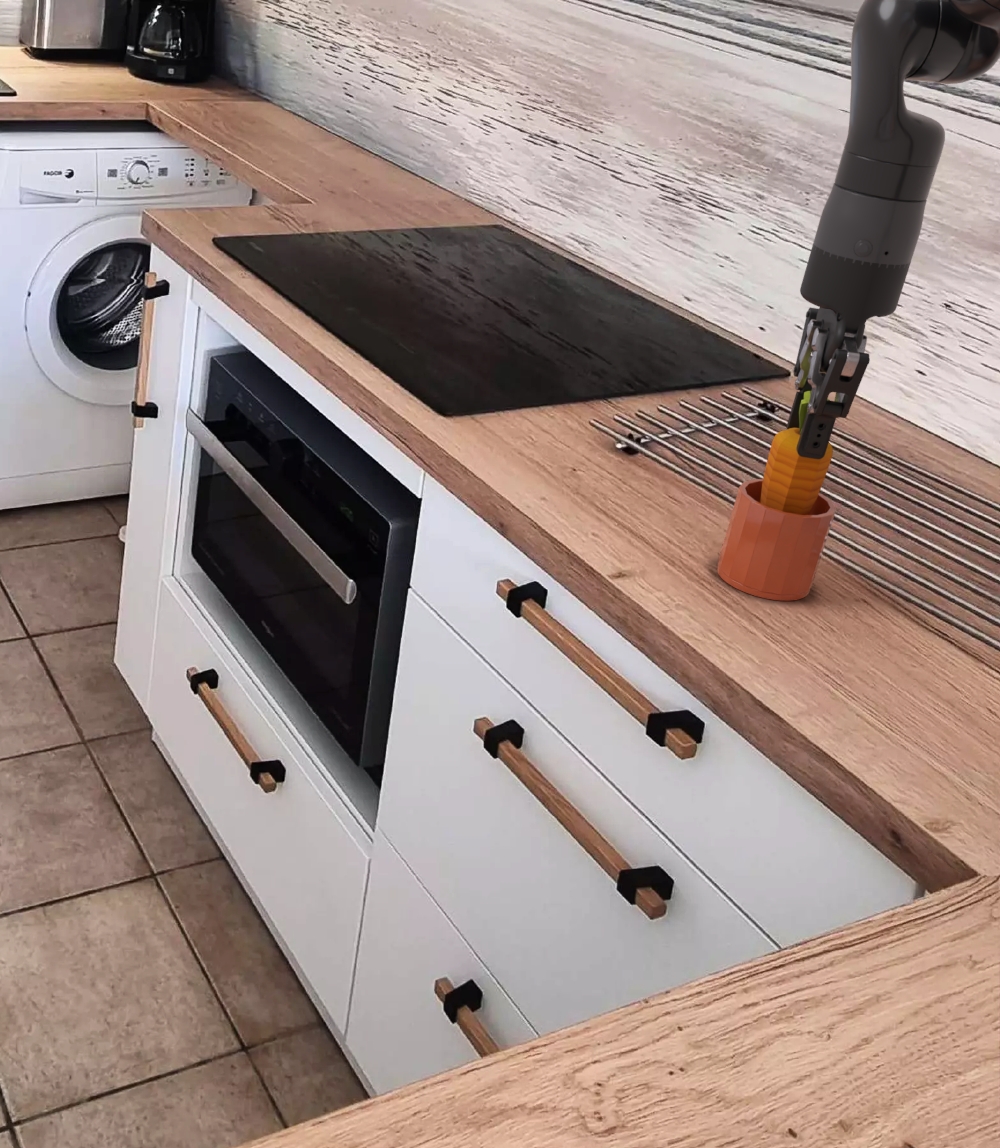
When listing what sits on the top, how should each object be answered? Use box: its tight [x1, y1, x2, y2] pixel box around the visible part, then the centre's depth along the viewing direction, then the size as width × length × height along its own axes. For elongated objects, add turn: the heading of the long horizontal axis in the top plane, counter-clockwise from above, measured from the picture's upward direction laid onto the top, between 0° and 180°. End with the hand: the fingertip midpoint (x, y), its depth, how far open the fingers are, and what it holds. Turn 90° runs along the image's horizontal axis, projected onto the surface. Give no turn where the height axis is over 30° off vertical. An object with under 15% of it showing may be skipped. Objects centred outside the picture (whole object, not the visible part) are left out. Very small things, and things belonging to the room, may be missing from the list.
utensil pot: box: [716, 478, 837, 602], centre depth 132 cm, size 8×8×8 cm
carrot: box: [760, 391, 834, 515], centre depth 129 cm, size 5×5×15 cm
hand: (803, 444), depth 128 cm, fingers closed on carrot, 4 cm apart
